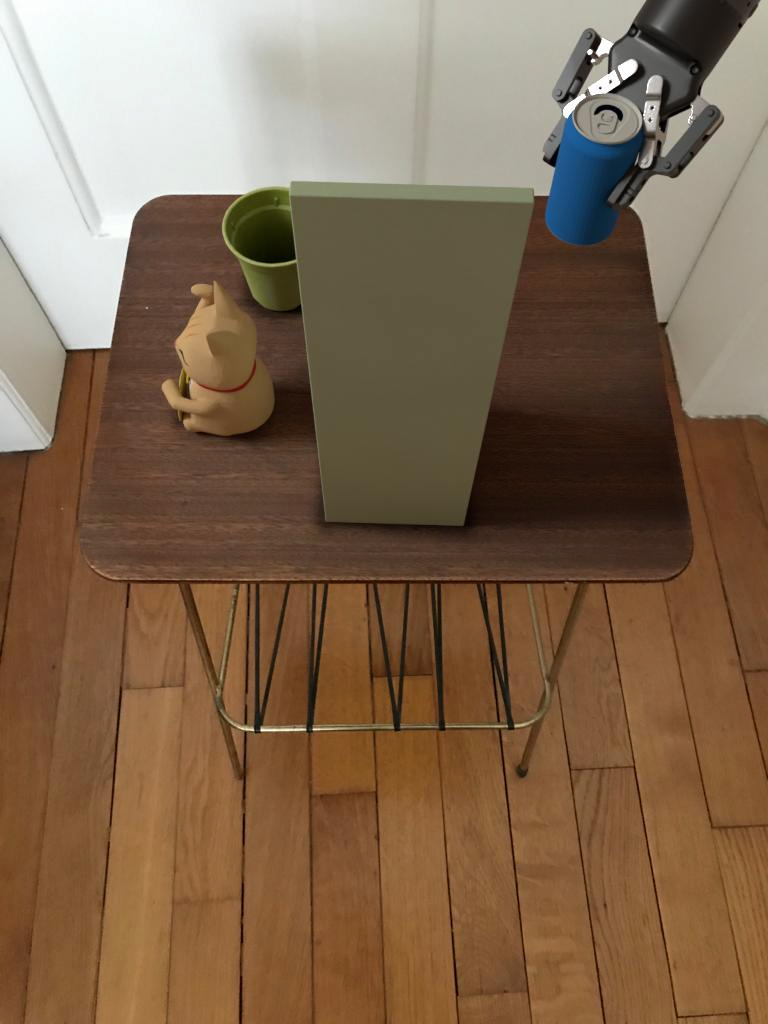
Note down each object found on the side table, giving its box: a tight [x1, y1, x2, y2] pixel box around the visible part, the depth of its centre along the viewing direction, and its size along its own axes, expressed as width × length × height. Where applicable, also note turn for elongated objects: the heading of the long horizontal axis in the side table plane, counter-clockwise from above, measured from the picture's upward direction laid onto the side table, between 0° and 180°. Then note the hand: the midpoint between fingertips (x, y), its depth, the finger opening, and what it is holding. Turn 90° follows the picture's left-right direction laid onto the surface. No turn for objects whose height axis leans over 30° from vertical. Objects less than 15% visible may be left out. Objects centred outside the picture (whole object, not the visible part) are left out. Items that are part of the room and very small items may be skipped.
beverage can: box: [544, 93, 643, 247], centre depth 78 cm, size 6×6×12 cm
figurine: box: [161, 280, 276, 437], centre depth 76 cm, size 9×10×15 cm
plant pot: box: [221, 185, 301, 312], centre depth 85 cm, size 9×9×9 cm
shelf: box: [289, 180, 536, 527], centre depth 64 cm, size 12×12×38 cm
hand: (580, 185), depth 77 cm, fingers closed on beverage can, 6 cm apart
